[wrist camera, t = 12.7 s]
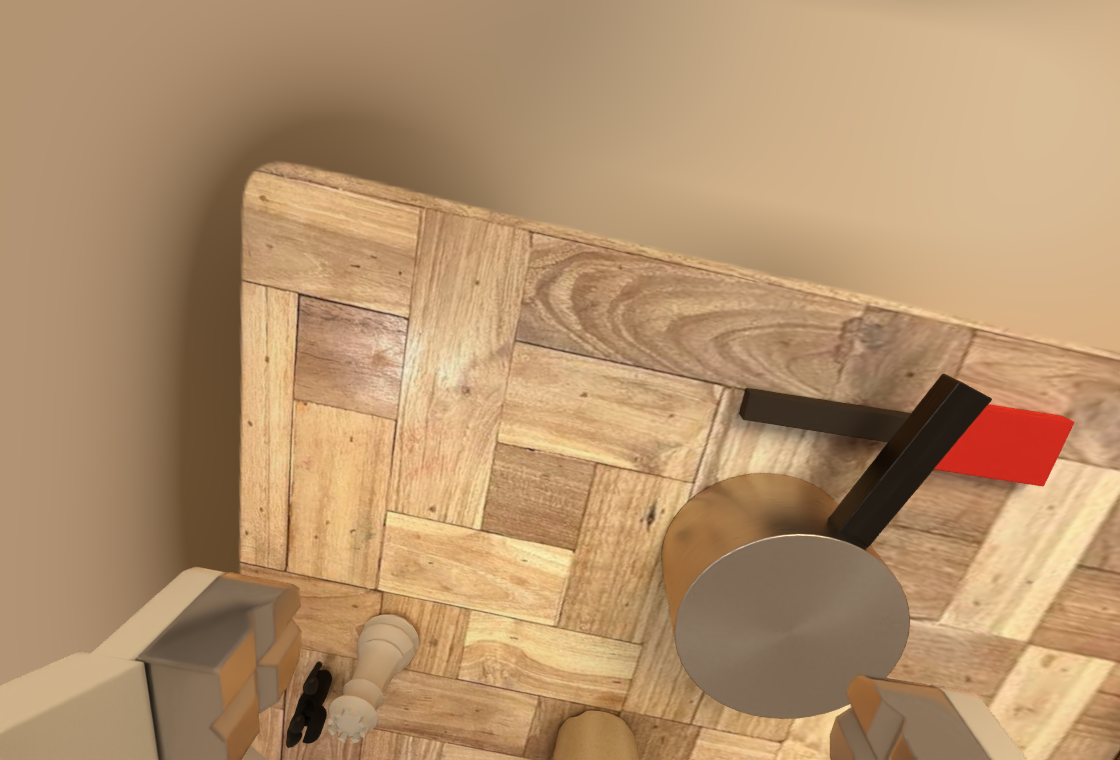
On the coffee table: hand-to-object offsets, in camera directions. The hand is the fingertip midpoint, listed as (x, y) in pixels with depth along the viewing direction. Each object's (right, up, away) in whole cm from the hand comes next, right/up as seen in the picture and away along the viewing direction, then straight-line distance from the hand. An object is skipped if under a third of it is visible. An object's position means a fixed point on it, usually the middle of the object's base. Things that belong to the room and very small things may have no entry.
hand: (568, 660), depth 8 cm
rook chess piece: (-13, -15, +34) cm, 40 cm away
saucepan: (+16, -4, +28) cm, 32 cm away
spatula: (+21, +1, +26) cm, 33 cm away
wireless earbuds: (-19, -20, +36) cm, 46 cm away
